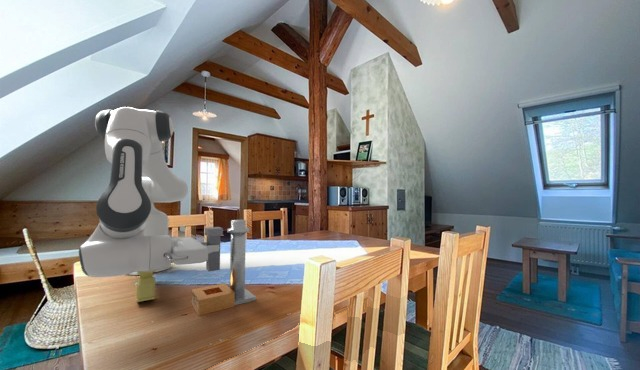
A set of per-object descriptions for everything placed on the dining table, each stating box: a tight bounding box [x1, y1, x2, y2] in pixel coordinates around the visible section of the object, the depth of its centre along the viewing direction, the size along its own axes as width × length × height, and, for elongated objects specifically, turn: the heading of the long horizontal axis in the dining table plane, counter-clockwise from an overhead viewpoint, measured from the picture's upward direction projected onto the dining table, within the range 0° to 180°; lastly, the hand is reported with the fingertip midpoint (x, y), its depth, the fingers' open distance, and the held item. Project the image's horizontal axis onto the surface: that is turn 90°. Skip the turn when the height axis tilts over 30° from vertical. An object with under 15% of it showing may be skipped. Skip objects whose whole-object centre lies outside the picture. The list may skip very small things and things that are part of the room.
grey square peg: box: [204, 226, 224, 272], centre depth 77 cm, size 4×4×12 cm
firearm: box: [135, 271, 156, 303], centre depth 85 cm, size 4×30×15 cm, turn 33°
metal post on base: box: [190, 219, 257, 316], centre depth 79 cm, size 16×10×24 cm, turn 127°
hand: (216, 246), depth 77 cm, fingers closed on grey square peg, 3 cm apart
